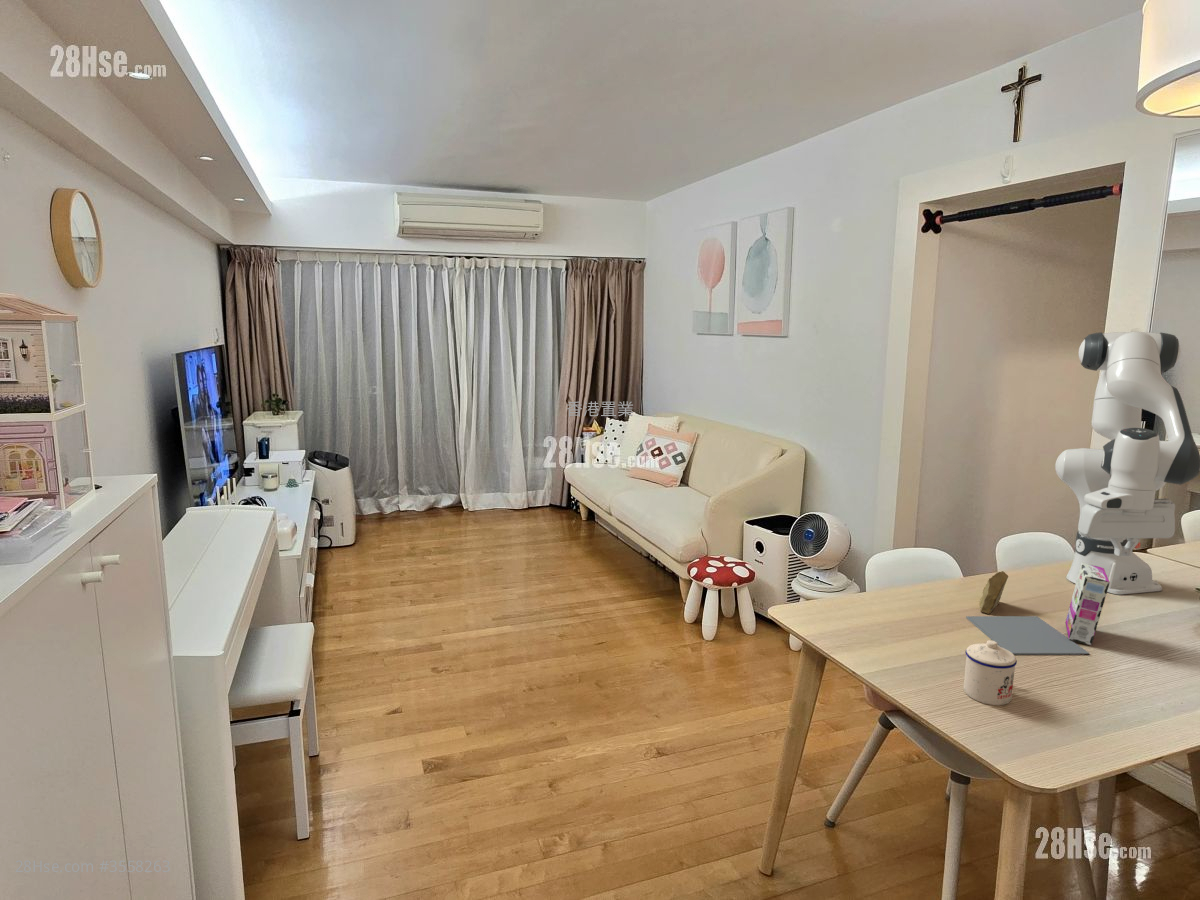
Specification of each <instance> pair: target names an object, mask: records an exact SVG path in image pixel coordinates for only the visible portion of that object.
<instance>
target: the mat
mask: <svg viewBox="0 0 1200 900" xmlns="http://www.w3.org/2000/svg"><path fill="white" fill-rule="evenodd" d="M965 618H966V619H967V620H968V621H969V622H970V623H971V622H972V624H973V625H974V626H975V627H976V628H977V629H978V630H980V631H981V632H982V633H983V634H984V635H986V637H988V638H989V639H990V640H993V641H995V642H997V644H998V646H1000V647H1002V648H1004V649H1006V650H1008V651H1010V652H1011V653H1012V654H1014V656H1019V655H1020V656H1051V655H1052V656H1076V655H1078V656H1085V655H1084V654H1089V655H1090V652H1088V651H1087V650H1086V649H1084V648H1083V647H1081V646H1080V645H1079V644H1077V642H1075V641H1072V640H1069V639H1068V636H1066V635H1065V634H1063V633H1061V632H1060V631H1059V630H1058V629H1056V628H1055V627H1053V626H1052V625H1050V624H1049V623H1048V622H1046V621H1045V620H1044V619H1042V618H1040V617H1039V616H1038V615H1037V616H1035V615H1029V616H1028V615H1024V616H1023V615H1019V616H1018V615H1017V616H1016V615H1015V616H1014V615H1006V616H1004V615H1003V616H999V615H995V616H994V615H992V616H991V615H990V616H988V615H987V616H984V615H982V616H981V615H979V616H977V615H975V616H972V615H971V616H970V615H969V616H967V615H966V616H965ZM1069 654H1070V655H1069ZM1080 654H1082V655H1080Z"/></svg>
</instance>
